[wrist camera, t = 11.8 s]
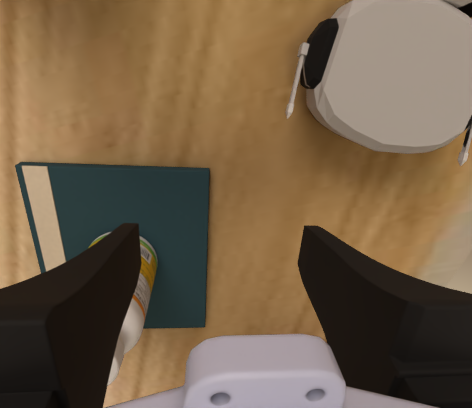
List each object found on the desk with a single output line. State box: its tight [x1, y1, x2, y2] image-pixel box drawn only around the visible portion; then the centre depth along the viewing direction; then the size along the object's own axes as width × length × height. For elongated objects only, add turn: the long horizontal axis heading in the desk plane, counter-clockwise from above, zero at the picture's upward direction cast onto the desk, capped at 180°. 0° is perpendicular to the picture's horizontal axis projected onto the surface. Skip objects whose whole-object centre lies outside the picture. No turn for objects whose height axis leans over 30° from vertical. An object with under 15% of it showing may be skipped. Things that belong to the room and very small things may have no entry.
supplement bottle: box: [88, 232, 157, 386], centre depth 20 cm, size 5×5×10 cm
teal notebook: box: [15, 162, 210, 329], centre depth 25 cm, size 15×13×1 cm
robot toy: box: [286, 0, 472, 166], centre depth 18 cm, size 12×4×15 cm
